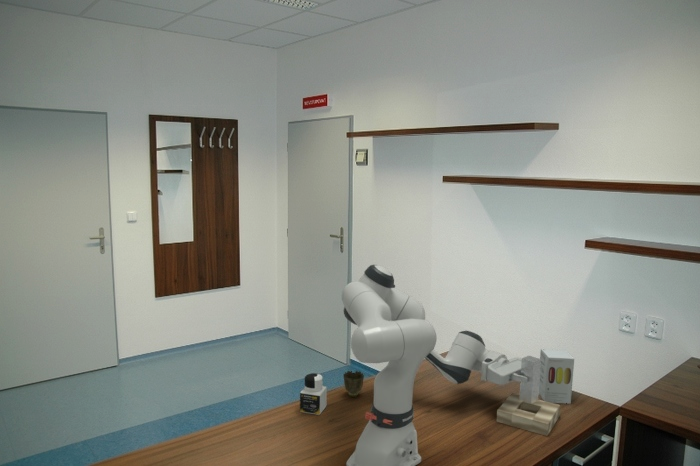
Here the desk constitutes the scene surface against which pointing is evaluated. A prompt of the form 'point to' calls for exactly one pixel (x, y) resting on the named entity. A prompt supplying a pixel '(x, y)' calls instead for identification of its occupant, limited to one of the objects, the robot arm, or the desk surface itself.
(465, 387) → the desk surface
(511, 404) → the square nut
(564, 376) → the supplement box
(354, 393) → the cup
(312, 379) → the medicine bottle
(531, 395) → the steel peg
